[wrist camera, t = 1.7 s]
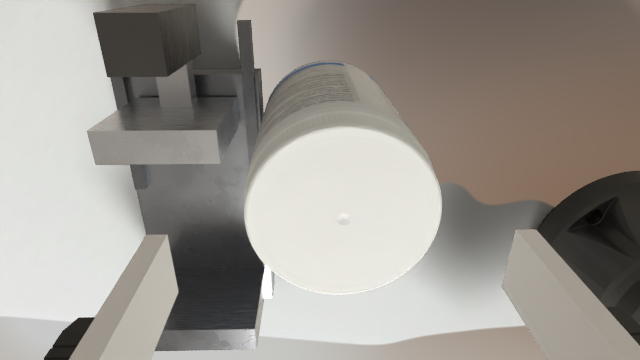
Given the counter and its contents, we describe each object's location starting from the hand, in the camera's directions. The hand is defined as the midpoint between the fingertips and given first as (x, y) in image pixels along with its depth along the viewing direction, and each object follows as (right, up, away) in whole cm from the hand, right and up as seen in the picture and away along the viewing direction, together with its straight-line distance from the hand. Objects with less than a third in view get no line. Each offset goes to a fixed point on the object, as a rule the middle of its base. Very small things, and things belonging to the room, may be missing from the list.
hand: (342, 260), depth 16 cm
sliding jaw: (-10, +11, +12) cm, 19 cm away
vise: (-10, +4, +18) cm, 21 cm away
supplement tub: (0, +8, +16) cm, 18 cm away
